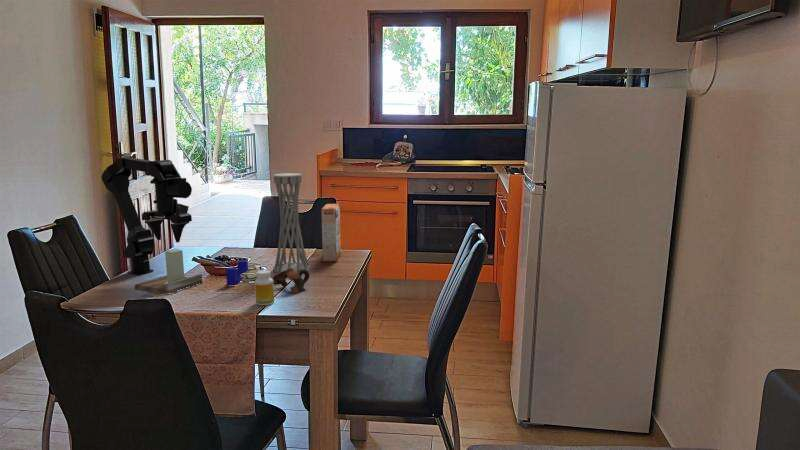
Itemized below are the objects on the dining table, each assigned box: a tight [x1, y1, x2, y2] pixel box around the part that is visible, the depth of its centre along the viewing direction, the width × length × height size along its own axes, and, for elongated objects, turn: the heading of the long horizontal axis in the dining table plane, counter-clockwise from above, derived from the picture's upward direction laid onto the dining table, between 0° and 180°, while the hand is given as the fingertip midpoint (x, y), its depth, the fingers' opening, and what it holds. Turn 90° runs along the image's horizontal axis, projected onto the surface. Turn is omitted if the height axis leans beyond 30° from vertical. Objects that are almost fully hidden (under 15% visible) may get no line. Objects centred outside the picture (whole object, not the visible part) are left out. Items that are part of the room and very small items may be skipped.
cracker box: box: [321, 203, 342, 263], centre depth 234 cm, size 14×6×21 cm, turn 179°
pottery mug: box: [272, 268, 310, 295], centre depth 192 cm, size 12×10×8 cm
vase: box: [272, 172, 311, 274], centre depth 215 cm, size 14×13×35 cm
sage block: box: [164, 248, 185, 283], centre depth 195 cm, size 4×4×11 cm
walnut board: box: [134, 273, 203, 294], centre depth 198 cm, size 16×14×3 cm
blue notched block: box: [225, 260, 249, 286], centre depth 203 cm, size 12×4×6 cm, turn 174°
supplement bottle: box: [254, 269, 275, 306], centre depth 177 cm, size 5×5×10 cm
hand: (168, 241), depth 207 cm, fingers open, 9 cm apart
